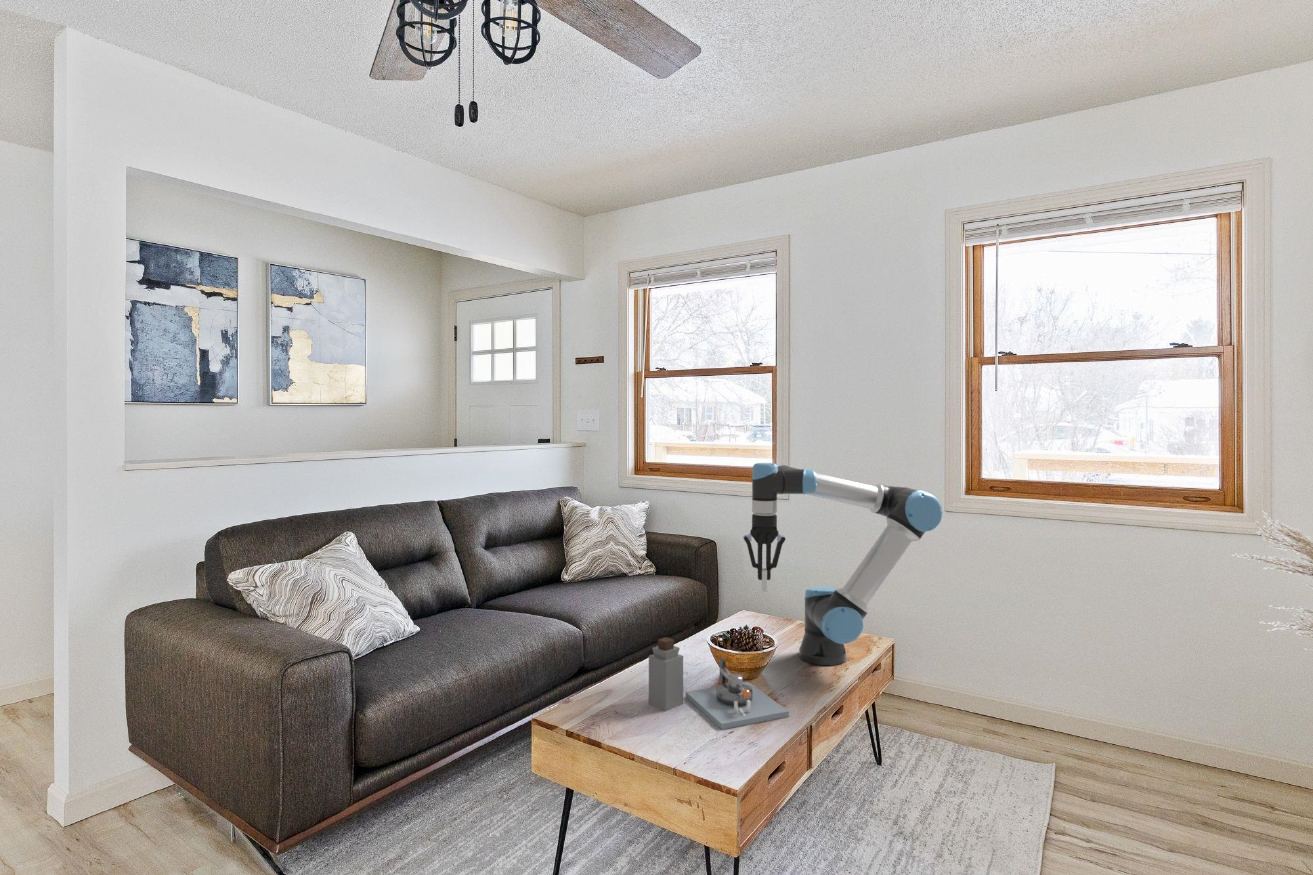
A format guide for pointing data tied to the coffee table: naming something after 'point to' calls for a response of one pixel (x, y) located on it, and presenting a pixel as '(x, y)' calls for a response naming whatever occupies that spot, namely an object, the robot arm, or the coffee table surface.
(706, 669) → the coffee table surface
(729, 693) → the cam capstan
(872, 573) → the robot arm
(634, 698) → the coffee table surface
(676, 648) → the perfume bottle
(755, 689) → the stand
